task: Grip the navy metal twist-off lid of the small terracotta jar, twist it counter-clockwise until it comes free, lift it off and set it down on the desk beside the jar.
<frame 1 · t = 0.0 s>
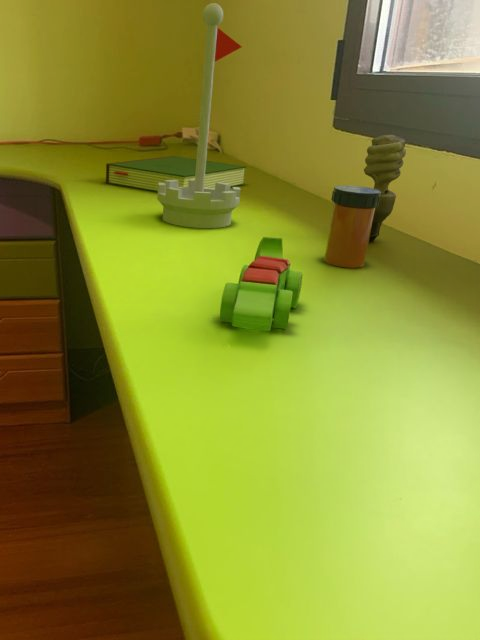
jar: (344, 262, 92), on the table
hardcover book: (176, 185, 144), on the table
flag stand: (196, 221, 111), on the table
toy crocodile: (260, 316, 71), on the table
light bulb: (368, 242, 105), on the table
lid: (356, 192, 88), point 9 cm above the table, screwed on, not yet turned
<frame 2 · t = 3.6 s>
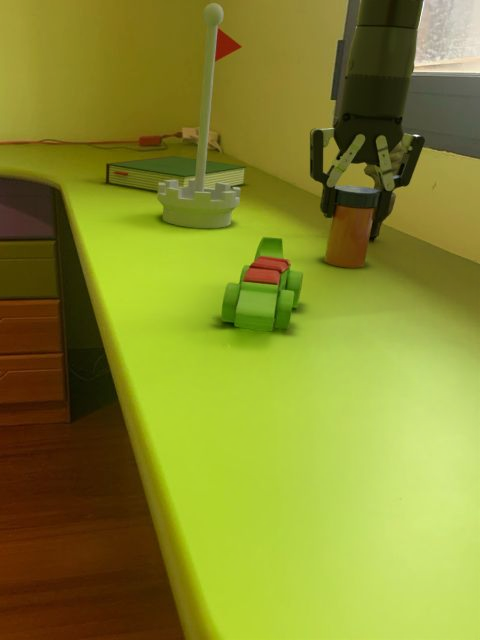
hand: (351, 217, 89), 6 cm above the table, tool pointing down, fingers closed on lid, 5 cm apart
lid: (356, 192, 88), point 9 cm above the table, screwed on, not yet turned, touching gripper
everything else where it was.
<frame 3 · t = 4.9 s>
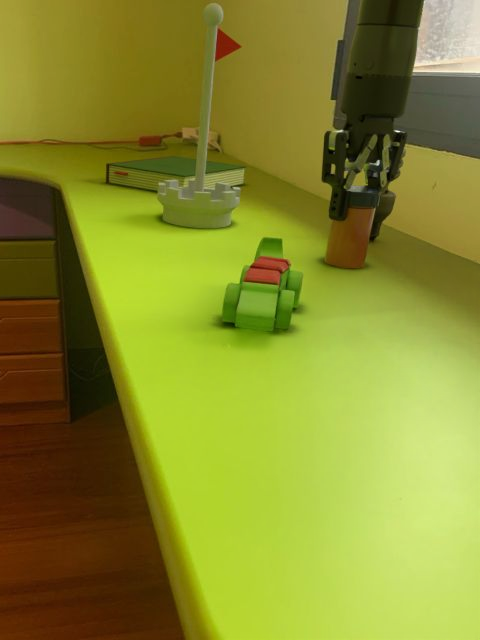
hand: (352, 217, 89), 6 cm above the table, tool pointing down, fingers closed on lid, 5 cm apart
lid: (357, 192, 87), point 9 cm above the table, turned 38° so far, risen 0.1 cm, still on its thread, touching gripper
everything else where it was.
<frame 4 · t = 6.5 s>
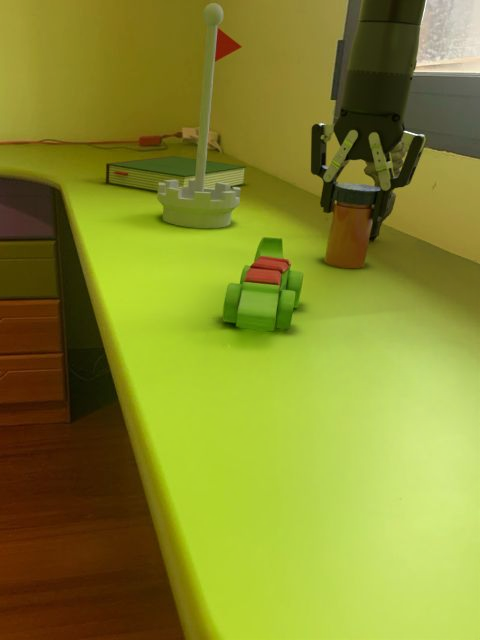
hand: (352, 215, 88), 6 cm above the table, tool pointing down, fingers closed on lid, 5 cm apart
lid: (357, 190, 87), point 9 cm above the table, off its thread, touching gripper
everything else where it was.
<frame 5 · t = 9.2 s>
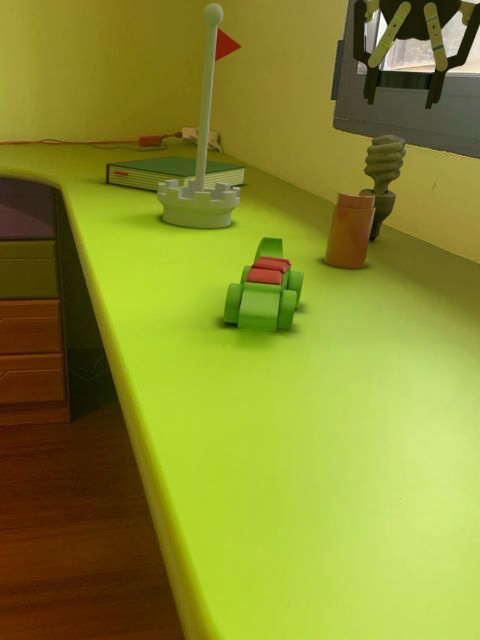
hand: (399, 106, 80), 19 cm above the table, tool pointing down, fingers closed on lid, 5 cm apart
lid: (405, 75, 78), point 22 cm above the table, off its thread, touching gripper
everything else where it was.
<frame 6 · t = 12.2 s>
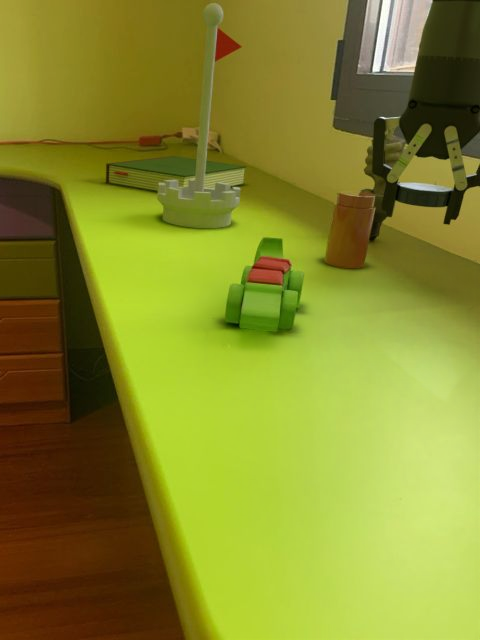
hand: (417, 219, 80), 8 cm above the table, tool pointing down, fingers closed on lid, 5 cm apart
lid: (424, 190, 78), point 11 cm above the table, off its thread, touching gripper
everything else where it was.
when the fingers open (0 cm above the table, at t = 14.9 s): lid drops 2 cm, point 1 cm above the table.
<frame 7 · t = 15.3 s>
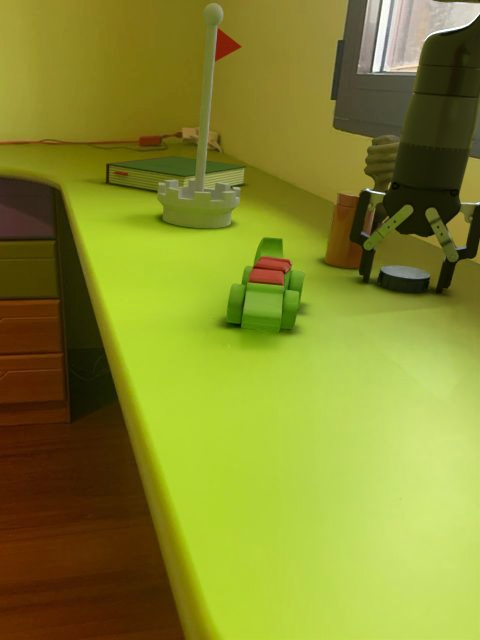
hand: (402, 285, 83), 0 cm above the table, tool pointing down, fingers open, 8 cm apart
lid: (404, 275, 83), point 1 cm above the table, off its thread
everything else where it was.
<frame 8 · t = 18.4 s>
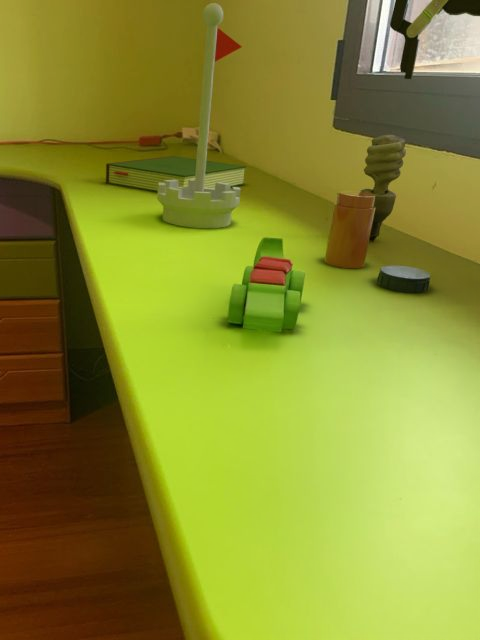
hand: (450, 82, 73), 22 cm above the table, tool pointing down, fingers open, 8 cm apart
nothing on the table moved.
at the end: lid came off its thread; lid point 1.3 cm above the table; the gripper is holding nothing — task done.
